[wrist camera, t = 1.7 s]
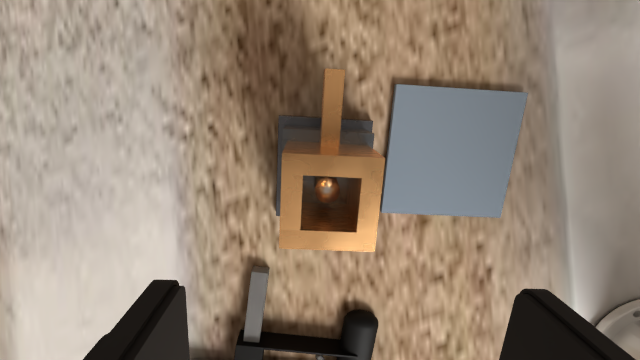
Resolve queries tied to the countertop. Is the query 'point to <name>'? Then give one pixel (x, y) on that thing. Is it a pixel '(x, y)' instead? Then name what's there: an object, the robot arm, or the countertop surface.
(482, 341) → the countertop surface
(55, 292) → the countertop surface
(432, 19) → the countertop surface
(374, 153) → the wooden hollow block
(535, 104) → the countertop surface
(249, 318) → the door handle
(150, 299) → the robot arm
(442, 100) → the rubber pad
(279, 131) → the grey block
